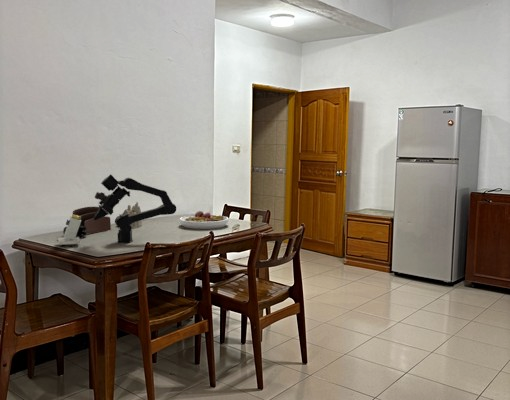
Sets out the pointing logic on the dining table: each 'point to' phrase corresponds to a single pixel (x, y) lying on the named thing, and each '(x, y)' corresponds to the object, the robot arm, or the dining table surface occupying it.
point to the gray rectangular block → (68, 241)
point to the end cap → (79, 232)
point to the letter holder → (92, 220)
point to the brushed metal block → (72, 226)
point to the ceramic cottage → (134, 211)
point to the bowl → (203, 221)
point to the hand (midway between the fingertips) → (94, 219)
